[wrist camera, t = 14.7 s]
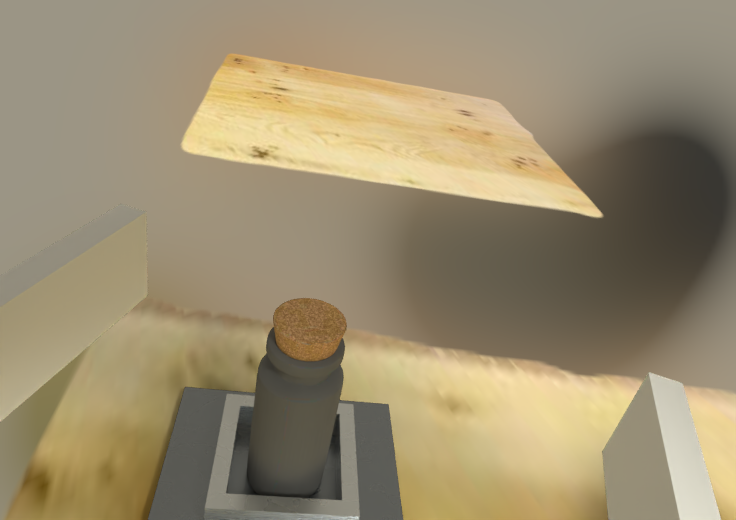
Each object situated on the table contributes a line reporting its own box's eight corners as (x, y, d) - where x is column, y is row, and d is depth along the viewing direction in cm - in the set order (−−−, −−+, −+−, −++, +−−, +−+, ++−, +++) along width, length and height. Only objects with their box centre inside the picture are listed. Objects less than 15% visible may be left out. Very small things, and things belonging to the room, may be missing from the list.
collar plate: (385, 413, 53) (394, 384, 52) (406, 589, 40) (419, 558, 38) (184, 396, 51) (185, 365, 49) (134, 579, 37) (132, 545, 35)
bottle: (322, 444, 48) (353, 297, 40) (322, 508, 43) (357, 354, 35) (250, 439, 47) (267, 287, 39) (241, 503, 42) (259, 344, 34)
